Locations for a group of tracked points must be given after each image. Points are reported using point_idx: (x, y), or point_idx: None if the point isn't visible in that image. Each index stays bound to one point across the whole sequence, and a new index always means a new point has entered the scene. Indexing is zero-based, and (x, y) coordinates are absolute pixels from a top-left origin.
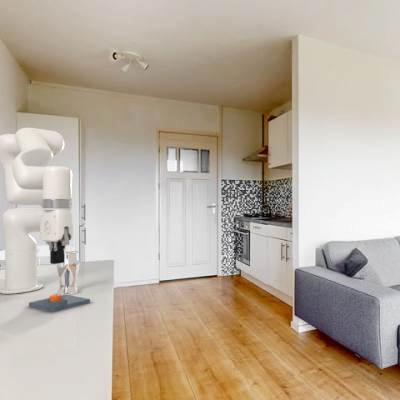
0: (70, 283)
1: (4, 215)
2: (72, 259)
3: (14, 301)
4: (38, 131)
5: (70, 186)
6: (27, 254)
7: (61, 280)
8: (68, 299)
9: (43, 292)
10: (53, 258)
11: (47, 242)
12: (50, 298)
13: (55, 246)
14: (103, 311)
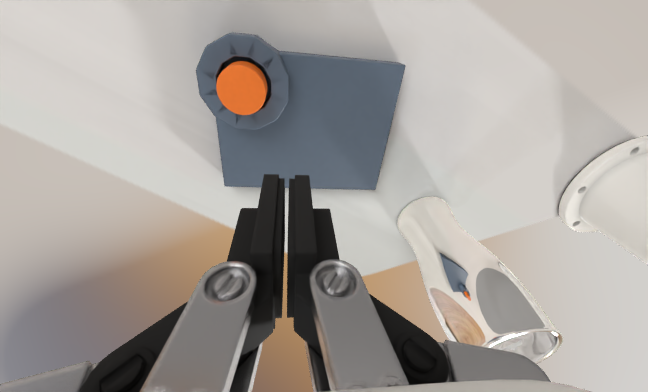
0: (416, 238)
1: None
2: (452, 323)
3: (527, 92)
4: None
5: None
6: None
7: (447, 231)
8: (293, 154)
9: (514, 196)
10: (259, 200)
11: (501, 372)
12: (239, 63)
13: (195, 323)
14: (57, 135)
